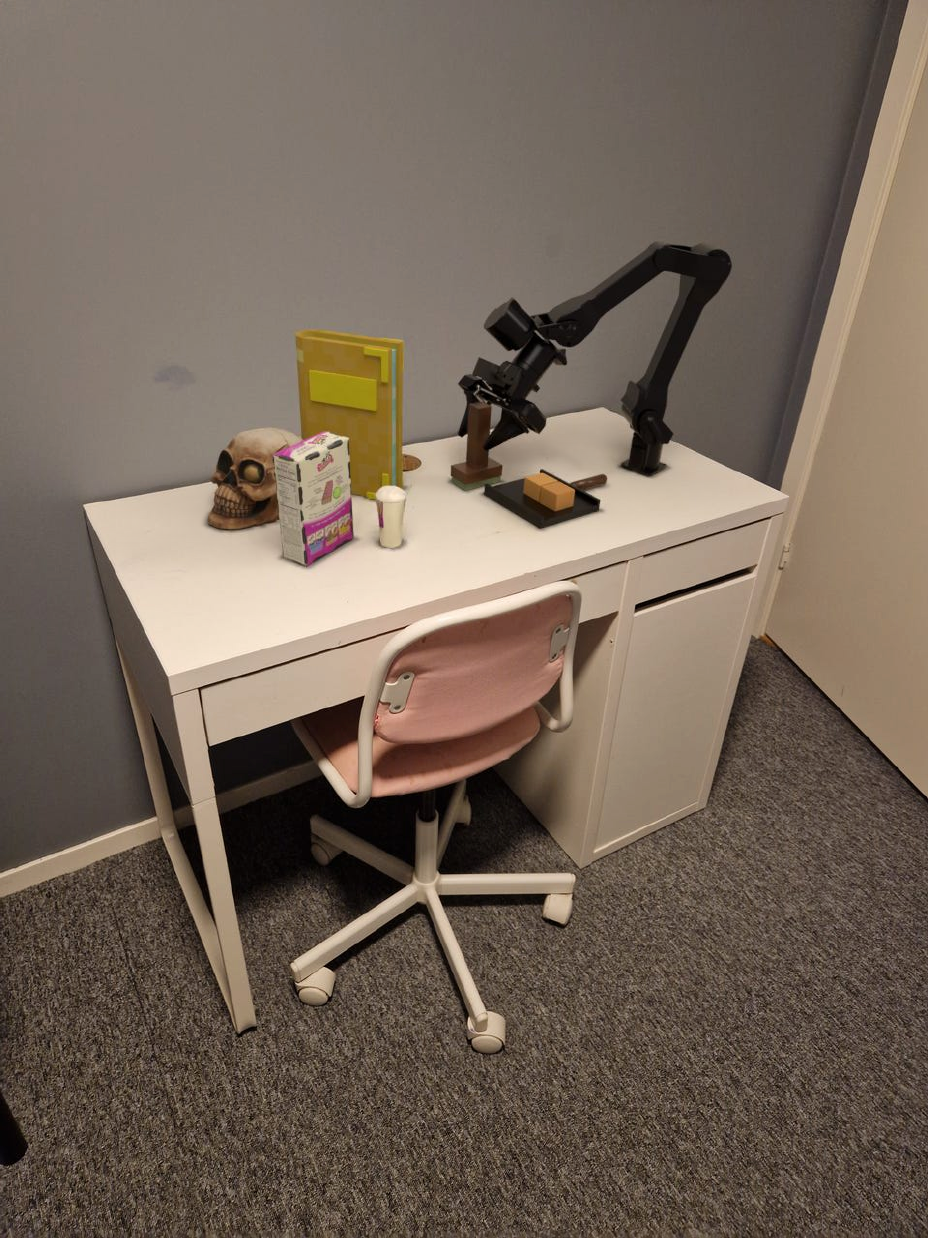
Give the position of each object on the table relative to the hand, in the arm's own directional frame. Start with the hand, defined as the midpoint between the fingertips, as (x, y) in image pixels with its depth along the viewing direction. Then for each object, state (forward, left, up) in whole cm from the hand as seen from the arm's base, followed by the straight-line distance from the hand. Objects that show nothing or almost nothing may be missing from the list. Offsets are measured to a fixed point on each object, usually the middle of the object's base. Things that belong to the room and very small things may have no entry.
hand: (471, 442), depth 146 cm
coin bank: (+32, -18, -8) cm, 37 cm away
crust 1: (-3, +13, -6) cm, 15 cm away
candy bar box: (+35, -1, -8) cm, 35 cm away
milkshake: (+26, +6, -8) cm, 27 cm away
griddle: (-7, +15, -8) cm, 18 cm away
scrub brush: (-1, 0, -8) cm, 8 cm away
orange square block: (-2, +17, -6) cm, 18 cm away
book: (+16, -14, -8) cm, 22 cm away
